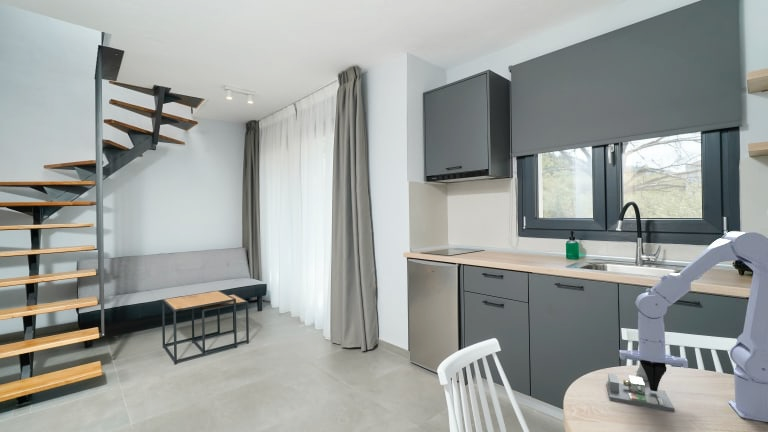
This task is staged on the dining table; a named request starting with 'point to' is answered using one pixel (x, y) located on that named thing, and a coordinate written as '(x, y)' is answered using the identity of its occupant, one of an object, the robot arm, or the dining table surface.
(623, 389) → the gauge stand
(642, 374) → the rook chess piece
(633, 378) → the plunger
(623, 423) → the dining table surface
